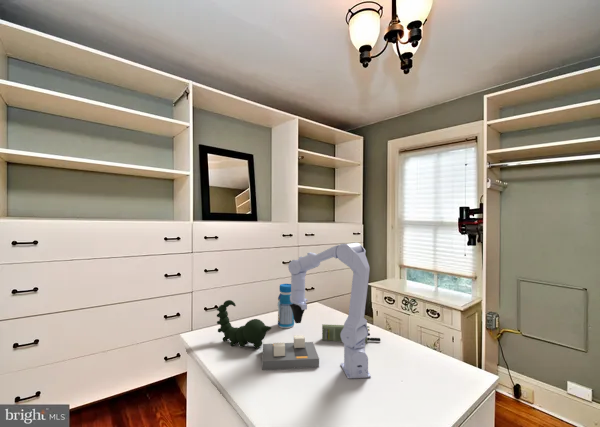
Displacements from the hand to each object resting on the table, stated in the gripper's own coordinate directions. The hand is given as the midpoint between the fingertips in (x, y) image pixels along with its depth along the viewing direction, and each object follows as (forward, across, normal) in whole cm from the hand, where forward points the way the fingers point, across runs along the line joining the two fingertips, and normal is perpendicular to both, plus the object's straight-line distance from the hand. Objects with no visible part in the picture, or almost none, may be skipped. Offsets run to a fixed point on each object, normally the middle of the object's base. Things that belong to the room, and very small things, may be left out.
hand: (297, 322), depth 115 cm
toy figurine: (+11, +11, +20) cm, 25 cm away
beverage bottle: (+11, +26, -3) cm, 28 cm away
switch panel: (+10, -7, +6) cm, 14 cm away
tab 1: (+7, -9, +11) cm, 16 cm away
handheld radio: (+11, -1, -24) cm, 27 cm away
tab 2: (+7, -5, +1) cm, 9 cm away
